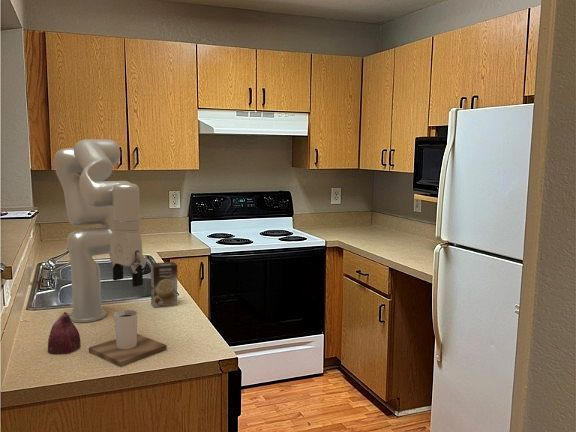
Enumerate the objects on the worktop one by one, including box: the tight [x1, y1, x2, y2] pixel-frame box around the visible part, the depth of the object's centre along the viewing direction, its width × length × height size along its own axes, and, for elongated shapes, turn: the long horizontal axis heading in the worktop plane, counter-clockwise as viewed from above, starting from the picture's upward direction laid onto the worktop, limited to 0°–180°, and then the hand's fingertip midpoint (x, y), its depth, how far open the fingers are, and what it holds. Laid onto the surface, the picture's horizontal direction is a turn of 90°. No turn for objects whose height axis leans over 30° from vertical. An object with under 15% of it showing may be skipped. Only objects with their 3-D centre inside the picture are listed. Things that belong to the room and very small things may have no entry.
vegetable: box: [47, 311, 81, 355], centre depth 154 cm, size 10×9×14 cm
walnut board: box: [88, 333, 168, 368], centre depth 154 cm, size 16×16×2 cm
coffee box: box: [150, 261, 178, 308], centre depth 199 cm, size 9×6×16 cm
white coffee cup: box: [113, 309, 139, 349], centre depth 154 cm, size 7×7×10 cm
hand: (127, 282), depth 153 cm, fingers open, 9 cm apart
